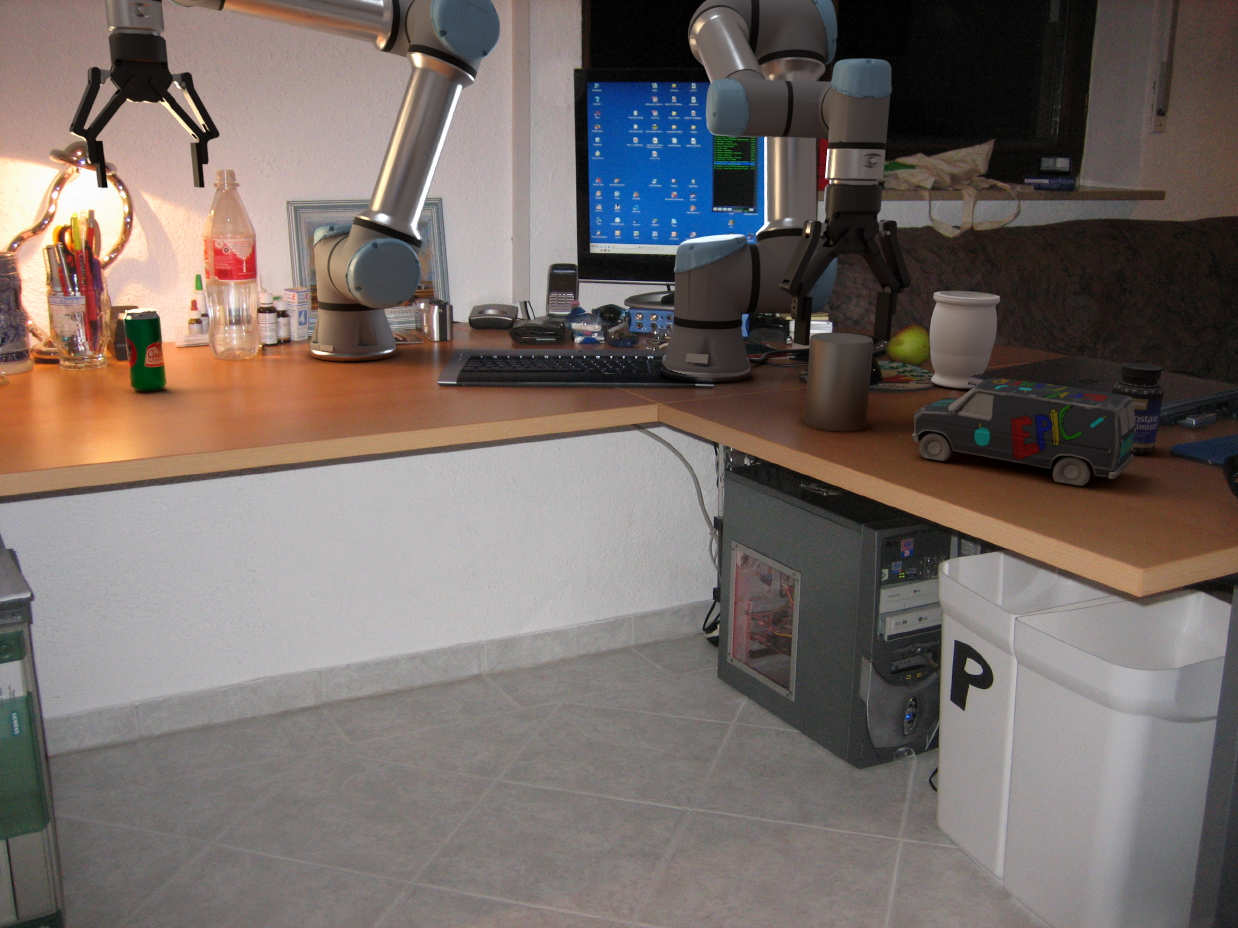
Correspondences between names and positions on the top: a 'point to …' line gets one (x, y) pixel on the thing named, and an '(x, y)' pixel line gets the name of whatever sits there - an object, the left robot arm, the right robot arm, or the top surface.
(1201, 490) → the top surface
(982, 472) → the top surface
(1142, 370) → the pill bottle
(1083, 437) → the toy van
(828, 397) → the can
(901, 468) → the top surface
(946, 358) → the jar
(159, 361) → the soda can
